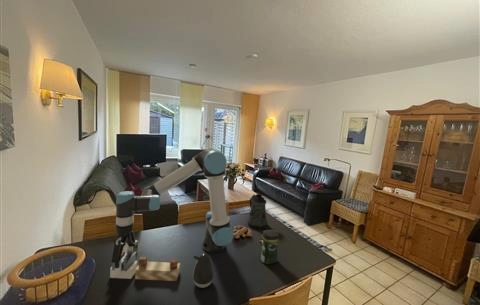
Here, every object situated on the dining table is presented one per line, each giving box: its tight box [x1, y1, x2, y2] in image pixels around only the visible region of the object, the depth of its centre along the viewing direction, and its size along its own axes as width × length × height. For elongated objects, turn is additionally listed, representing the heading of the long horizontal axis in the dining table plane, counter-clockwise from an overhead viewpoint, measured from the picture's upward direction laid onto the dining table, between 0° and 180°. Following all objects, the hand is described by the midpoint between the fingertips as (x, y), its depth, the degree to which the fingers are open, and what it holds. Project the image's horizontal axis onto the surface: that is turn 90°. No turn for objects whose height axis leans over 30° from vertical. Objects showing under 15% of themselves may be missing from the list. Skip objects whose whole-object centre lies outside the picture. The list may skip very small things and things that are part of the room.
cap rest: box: [109, 260, 138, 280], centre depth 103 cm, size 10×6×5 cm, turn 92°
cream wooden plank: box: [134, 256, 181, 282], centre depth 104 cm, size 20×6×9 cm, turn 92°
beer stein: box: [246, 193, 268, 230], centre depth 169 cm, size 16×19×25 cm
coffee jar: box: [260, 229, 280, 265], centre depth 122 cm, size 10×8×19 cm
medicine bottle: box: [121, 239, 139, 254], centre depth 119 cm, size 7×7×12 cm
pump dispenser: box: [192, 252, 215, 289], centre depth 100 cm, size 10×10×15 cm
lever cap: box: [111, 251, 137, 271], centre depth 103 cm, size 7×9×5 cm
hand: (124, 265), depth 103 cm, fingers open, 11 cm apart
